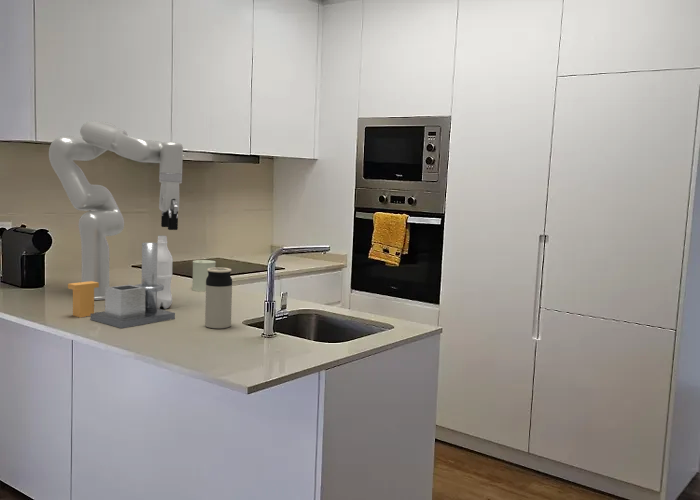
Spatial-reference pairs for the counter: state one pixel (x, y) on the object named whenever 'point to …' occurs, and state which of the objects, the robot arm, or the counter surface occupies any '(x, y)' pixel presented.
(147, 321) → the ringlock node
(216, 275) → the travel mug
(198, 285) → the can
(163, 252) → the water bottle
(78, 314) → the orange upright block
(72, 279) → the counter surface
